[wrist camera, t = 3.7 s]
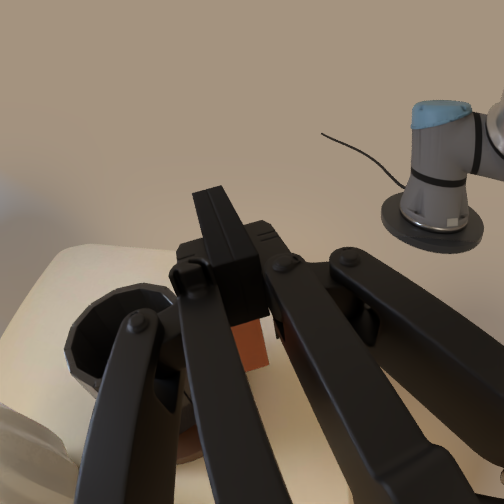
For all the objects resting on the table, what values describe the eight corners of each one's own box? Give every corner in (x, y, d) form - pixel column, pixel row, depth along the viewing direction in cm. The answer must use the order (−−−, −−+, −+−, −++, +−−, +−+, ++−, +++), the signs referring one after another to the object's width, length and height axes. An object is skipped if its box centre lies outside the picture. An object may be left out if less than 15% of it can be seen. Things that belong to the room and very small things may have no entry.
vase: (30, 426, 24) (-44, 358, 16) (112, 461, 21) (20, 393, 14) (1, 509, 12) (-88, 456, 5) (85, 568, 10) (-31, 541, 2)
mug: (154, 329, 34) (122, 267, 29) (274, 356, 28) (260, 285, 23) (99, 411, 25) (45, 357, 19) (227, 469, 19) (188, 432, 14)
